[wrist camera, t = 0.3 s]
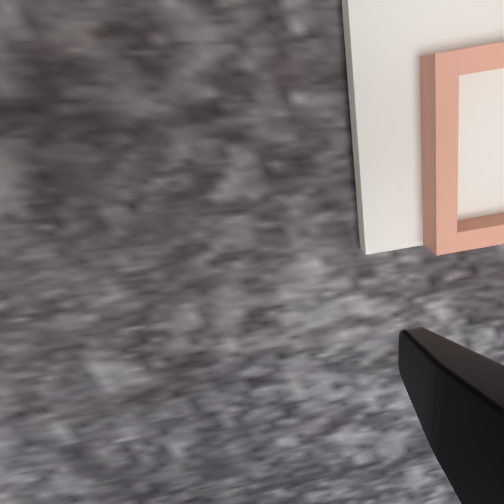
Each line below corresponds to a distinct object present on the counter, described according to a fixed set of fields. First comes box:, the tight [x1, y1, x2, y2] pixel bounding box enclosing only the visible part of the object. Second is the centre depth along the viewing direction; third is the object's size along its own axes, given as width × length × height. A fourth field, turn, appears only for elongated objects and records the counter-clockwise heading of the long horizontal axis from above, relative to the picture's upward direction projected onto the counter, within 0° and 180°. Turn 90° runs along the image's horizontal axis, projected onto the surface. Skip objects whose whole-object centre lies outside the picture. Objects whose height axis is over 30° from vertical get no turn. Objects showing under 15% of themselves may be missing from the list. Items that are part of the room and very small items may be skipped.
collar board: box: [342, 0, 504, 255], centre depth 20 cm, size 12×12×2 cm
